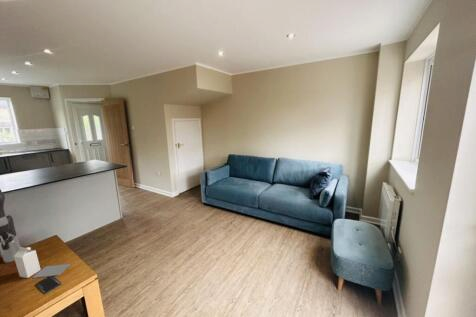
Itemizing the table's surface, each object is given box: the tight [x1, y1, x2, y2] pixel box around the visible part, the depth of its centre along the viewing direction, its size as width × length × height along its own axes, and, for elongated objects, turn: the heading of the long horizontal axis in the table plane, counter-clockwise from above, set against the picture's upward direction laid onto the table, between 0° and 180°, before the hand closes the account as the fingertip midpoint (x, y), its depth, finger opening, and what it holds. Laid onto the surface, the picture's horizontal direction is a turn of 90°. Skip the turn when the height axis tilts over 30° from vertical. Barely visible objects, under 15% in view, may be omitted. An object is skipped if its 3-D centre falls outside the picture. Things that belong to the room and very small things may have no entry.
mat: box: [31, 263, 72, 279], centre depth 130 cm, size 16×10×1 cm, turn 95°
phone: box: [35, 275, 62, 294], centre depth 118 cm, size 8×1×15 cm
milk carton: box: [14, 246, 42, 279], centre depth 127 cm, size 7×7×19 cm
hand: (6, 249), depth 124 cm, fingers closed
